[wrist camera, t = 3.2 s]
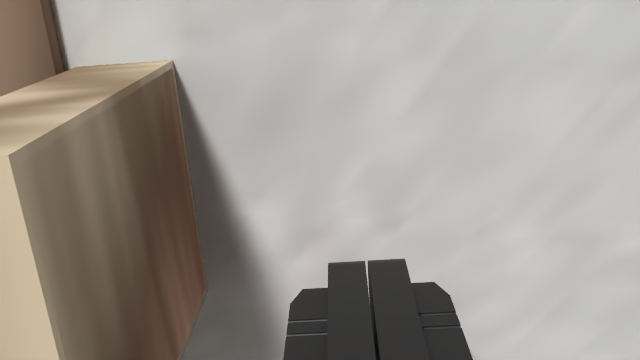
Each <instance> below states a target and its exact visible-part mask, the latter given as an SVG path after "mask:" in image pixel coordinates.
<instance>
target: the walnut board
mask: <svg viewBox="0 0 640 360" xmlns="http://www.w3.org/2000/svg"><path fill="white" fill-rule="evenodd" d="M63 72H64V68H63V63H62V58H61V54H60V49H59V44H58V39H57V34H56V30H55V25H54V20H53V15H52V11H51V6H50V1H49V0H0V97H1V96H3V95H6V94H8V93H11V92H14V91H16V90H19V89H21V88H24V87H27V86H29V85H32V84H34V83H37V82H39V81H42V80H45V79H47V78H50V77H52V76H55V75H57V74H60V73H63Z"/></svg>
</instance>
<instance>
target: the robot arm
mask: <svg viewBox="0 0 640 360" xmlns="http://www.w3.org/2000/svg"><path fill="white" fill-rule="evenodd" d="M368 279H369V294H368V285H367V276H366V267H365V261H356V262H338V263H328V288H316V289H303V290H302V291H301V292H300V293H299V294H298V295H297V297H296V298H295V299H294V300H293V301H292V303H291V304H290V311H289V319H288V327H287V337H286V343H285V351H284V359H283V360H473V359H472V356H471V353H470V350H469V347H468V345H467V342H466V339H465V336H464V333H463V331H462V328H461V327H460V322H459V319H458V317H457V315H456V311H455V308H454V306H453V303H452V300H451V297H450V295H449V294H448V293H446V292H445V291H444V290H443V289H442V288H440V287H439V286H438V285H437V284H436V283H434V282H426V283H411V281H410V277H409V273H408V269H407V265H406V261H405V259H390V260H372V261H368ZM369 299H370V304H369Z"/></svg>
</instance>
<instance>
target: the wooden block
mask: <svg viewBox="0 0 640 360" xmlns="http://www.w3.org/2000/svg"><path fill="white" fill-rule="evenodd" d="M206 293H207V285H206V278H205V271H204V265H203V258H202V251H201V245H200V238H199V231H198V225H197V218H196V211H195V205H194V198H193V191H192V185H191V178H190V171H189V165H188V158H187V151H186V145H185V138H184V131H183V125H182V118H181V111H180V105H179V98H178V91H177V85H176V78H175V71H174V65H173V60H169V61H154V62H140V63H126V64H112V65H98V66H83V67H76V68H73V69H70V70H68V71H65V72H63V73H60V74H57V75H55V76H52V77H50V78H47V79H45V80H42V81H39V82H37V83H34V84H32V85H29V86H27V87H24V88H21V89H19V90H16V91H14V92H11V93H8V94H6V95H3V96H1V97H0V360H181V357H182V355H183V352H184V349H185V347H186V344H187V342H188V339H189V337H190V334H191V331H192V329H193V326H194V324H195V321H196V319H197V316H198V314H199V311H200V308H201V306H202V303H203V301H204V298H205V296H206Z"/></svg>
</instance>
